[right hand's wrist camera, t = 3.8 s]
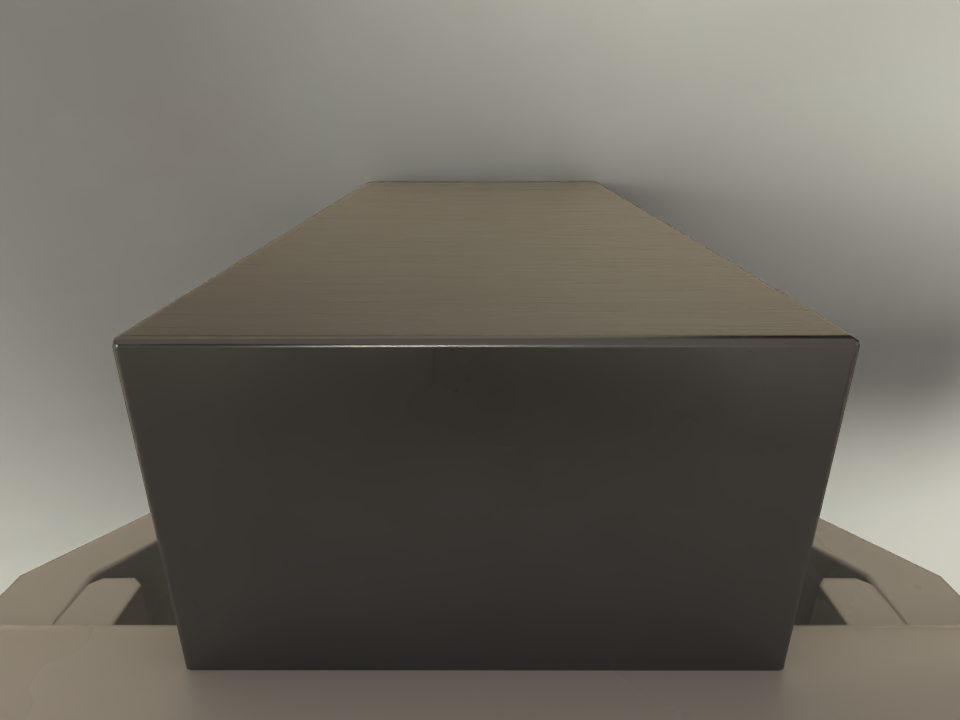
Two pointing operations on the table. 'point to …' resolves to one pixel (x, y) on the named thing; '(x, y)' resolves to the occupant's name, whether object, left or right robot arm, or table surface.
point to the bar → (485, 441)
